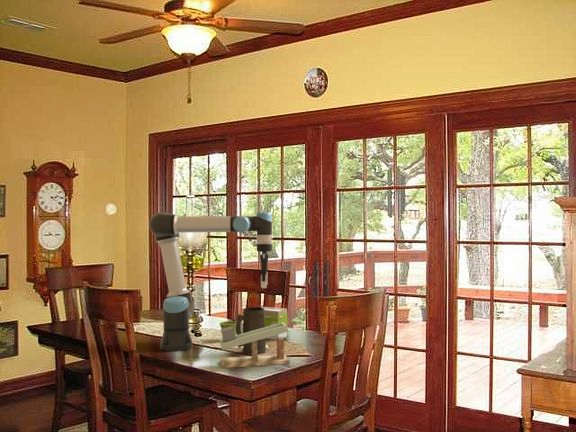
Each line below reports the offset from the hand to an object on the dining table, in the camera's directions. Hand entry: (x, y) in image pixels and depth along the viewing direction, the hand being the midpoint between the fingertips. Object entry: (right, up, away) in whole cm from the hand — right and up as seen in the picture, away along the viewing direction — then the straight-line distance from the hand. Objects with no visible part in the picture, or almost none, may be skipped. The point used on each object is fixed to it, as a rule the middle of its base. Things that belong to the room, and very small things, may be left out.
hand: (264, 286), depth 304 cm
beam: (-2, -17, -45) cm, 48 cm away
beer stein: (-5, -27, -25) cm, 38 cm away
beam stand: (-2, -27, -45) cm, 53 cm away
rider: (-12, -18, -47) cm, 52 cm away
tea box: (+3, -27, +9) cm, 29 cm away
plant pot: (-18, -27, +4) cm, 33 cm away
